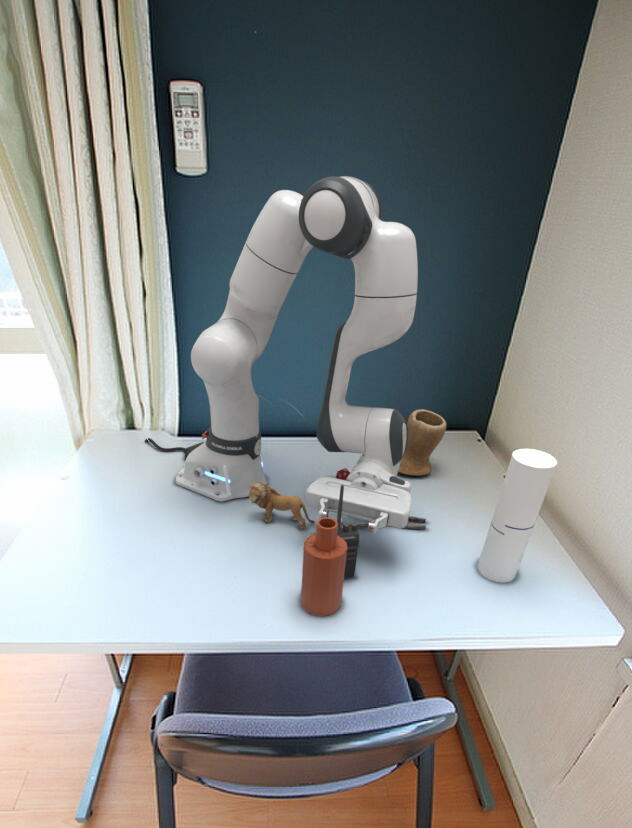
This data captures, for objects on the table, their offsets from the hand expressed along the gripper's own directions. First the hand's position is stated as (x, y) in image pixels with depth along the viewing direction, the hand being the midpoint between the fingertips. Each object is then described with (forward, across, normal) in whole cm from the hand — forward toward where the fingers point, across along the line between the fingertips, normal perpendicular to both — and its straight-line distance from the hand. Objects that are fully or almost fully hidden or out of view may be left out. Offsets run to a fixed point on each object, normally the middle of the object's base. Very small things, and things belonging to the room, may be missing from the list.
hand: (346, 522), depth 93 cm
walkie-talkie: (0, 0, +12) cm, 12 cm away
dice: (-33, -10, +12) cm, 37 cm away
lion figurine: (-11, -18, +12) cm, 24 cm away
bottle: (+10, -1, +12) cm, 15 cm away
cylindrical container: (-13, +28, +12) cm, 33 cm away
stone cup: (-50, +4, +12) cm, 52 cm away
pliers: (-22, +2, +12) cm, 25 cm away
